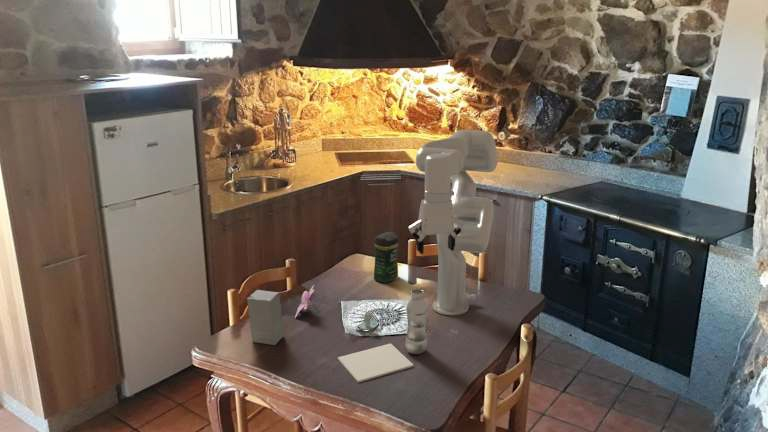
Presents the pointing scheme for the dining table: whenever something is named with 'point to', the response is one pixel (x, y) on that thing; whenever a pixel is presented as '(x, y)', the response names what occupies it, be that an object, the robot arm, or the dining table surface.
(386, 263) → the coffee jar
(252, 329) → the skincare box
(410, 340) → the plastic bottle
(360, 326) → the pacifier
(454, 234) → the robot arm
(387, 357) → the mat
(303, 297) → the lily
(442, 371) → the dining table surface
